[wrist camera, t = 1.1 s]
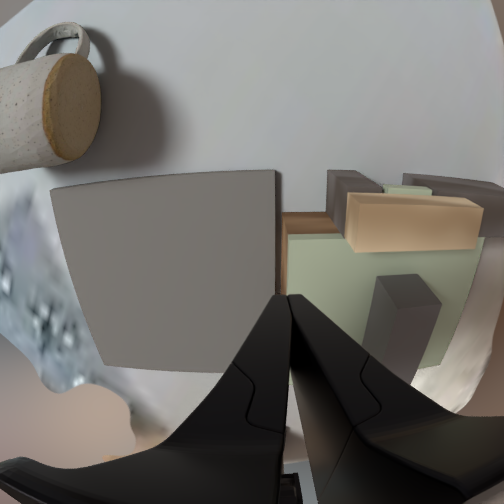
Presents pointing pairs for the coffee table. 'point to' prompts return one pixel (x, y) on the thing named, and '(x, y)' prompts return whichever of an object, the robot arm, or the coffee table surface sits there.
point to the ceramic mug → (48, 103)
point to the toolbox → (343, 181)
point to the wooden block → (410, 222)
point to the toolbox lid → (386, 293)
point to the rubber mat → (170, 264)
